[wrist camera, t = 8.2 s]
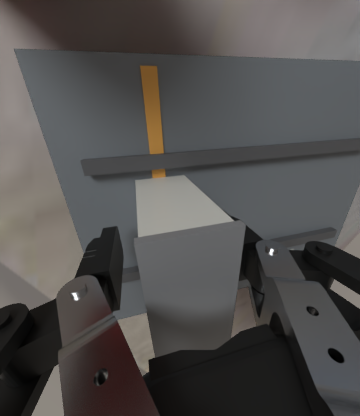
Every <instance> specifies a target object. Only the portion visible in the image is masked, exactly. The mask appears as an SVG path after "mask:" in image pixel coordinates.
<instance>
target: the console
mask: <svg viewBox="0 0 360 416" xmlns="http://www.w3.org/2000/svg"><path fill="white" fill-rule="evenodd" d="M14 51H15V54H16V57H17V60H18V63H19V66H20V69H21V72H22V74H23V77H24V80H25V83H26V86H27V89H28V92H29V95H30V98H31V101H32V104H33V107H34V109H35V112H36V115H37V118H38V121H39V124H40V127H41V130H42V133H43V136H44V139H45V141H46V144H47V147H48V150H49V153H50V156H51V159H52V162H53V165H54V168H55V171H56V174H57V176H58V179H59V182H60V185H61V188H62V191H63V194H64V197H65V200H66V203H67V206H68V208H69V211H70V214H71V217H72V220H73V223H74V226H75V229H76V232H77V235H78V238H79V240H80V243H81V246H82V249H83V252H84V253H85V250H86V247H87V245H88V244H89V243H90V242H91V241H92V240H93V239H94V238H99V237H100V236H101V233H102V229H103V228H106V227H113V226H117V227H118V230H119V234H120V239H121V243H122V248H123V255H124V260H123V275H122V289H121V304H120V310H118V311H114V312H113V316H115V317H116V319H117V320H119V319H123V318H127V317H131V316H135V315H139V314H143V313H147V311H146V305H145V300H144V295H143V289H142V284H141V279H140V273H139V268H138V263H137V257H136V252H135V247H134V238H137V237H138V224H137V205H136V185H135V180H142V179H151V178H161V177H170V176H180V175H184V176H186V177H187V178H188V179H189V180H190V181H191V182H192V183H193V184H194V185H195V186H197V187H198V188H199V189H200V190H201V191H202V192H203V193H204V194H205V195H206V196H208V197H209V198H210V199H211V200H212V201H213V202H214V203H215V204H216V205H217V206H219V207H220V208H221V209H222V210H224V211H225V212H226V213H228V214H229V215H230V216H233V217H235V218H238V219H240V220H241V221H242V222H243V223H245V224H246V225H247V226H248V227H249V228H250V229H252V230H253V231H254V232H255V233H256V234H257V235H259V236H260V237H261V238H262V239H263V240H273V241H276V242H279V243H281V244H283V245H284V246H285V247H286V248H287V249H288V250H304V247H305V244H306V243H307V242H309V241H319V242H324V243H327V244H330V245H332V246H335V244H336V241H337V239H338V236H339V234H340V231H341V229H342V226H343V224H344V221H345V219H346V216H347V214H348V212H349V209H350V207H351V204H352V202H353V199H354V197H355V194H356V192H357V189H358V187H359V184H360V61H342V60H314V59H287V58H259V57H231V56H203V55H176V54H148V53H120V52H92V51H65V50H37V49H14ZM245 287H249V281H248V280H247V279H246V280H242V281H239V280H238V288H237V289H241V288H245Z"/></svg>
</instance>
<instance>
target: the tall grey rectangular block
mask: <svg viewBox="0 0 360 416" xmlns="http://www.w3.org/2000/svg"><path fill="white" fill-rule="evenodd" d="M135 185H136V205H137V224H138V237H137V238H134V247H135V252H136V257H137V263H138V268H139V273H140V279H141V284H142V289H143V295H144V300H145V305H146V311H147V316H148V321H149V327H150V332H151V337H152V343H153V348H154V353H155V358H156V357H159V356H163V355H166V354H169V353H172V352H176V351H179V350H215V349H217V348H219V347H220V346H221V345H223V344H224V343H226V342H227V341H228V340H230V339H231V333H232V325H233V318H234V310H235V303H236V295H237V288H238V280H239V273H240V265H241V258H242V250H243V243H244V235H245V228H246V224H244V223H243V222H242V221H241V220H238V221H234V220H233V219H232V218H231V217H229V216H228V215H227V214H226V213H225V212H224V211H223V210H222V209H221V208H220V207H219V206H217V205H216V204H215V203H214V202H213V201H212V200H211V199H210V198H209V197H208V196H206V195H205V194H204V193H203V192H202V191H201V190H200V189H199V188H198V187H197V186H195V185H194V184H193V183H192V182H191V181H190V180H189V179H188V178H187V177H186V176H184V175H180V176H170V177H161V178H151V179H142V180H135Z"/></svg>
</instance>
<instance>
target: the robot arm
mask: <svg viewBox="0 0 360 416" xmlns="http://www.w3.org/2000/svg"><path fill="white" fill-rule="evenodd" d="M223 211H224V210H223ZM224 212H225V211H224ZM225 213H226V212H225ZM226 214H227V215H228V216H229V217H231V218H232V219H233V220H234V221H238V220H240V219H238V218H235V217H233V216H230V215H229V214H228V213H226ZM244 224H245V223H244ZM123 260H124V255H123V248H122V243H121V239H120V234H119V230H118V227H117V226H113V227H106V228H103V229H102V233H101V236H100V237H99V238H94V239H93V240H92V241H91V242H90V243H89V244H88V245H87V247H86V250H85V253H84V255H83V258H82V260H81V263H80V265H79V268H78V271H77V273H76V276H75V278H74V279H73V280H71V281H69V282H68V283H66V284H65V285H64V286H63V287H62V288H61V289H60V291H59V292H58V294H57V297H56V299H54V300H52V301H50V302H48V303H45V304H43V305H41V306H39V307H36V308H34V309H32V310H30V311H29V309H28V308H27V306H26V305H24V304H21V303H17V304H12V305H8V306H5V307H3V308H1V309H0V416H31V415H32V413H33V411H34V409H35V406H36V404H37V402H38V400H39V398H40V396H41V394H42V392H43V389H44V387H45V385H46V383H47V381H48V379H49V377H50V374H51V372H52V370H53V368H54V366H56V365H58V364H59V372H60V381H61V390H62V399H63V407H64V416H360V309H359V308H357V307H356V306H354V305H353V304H352V303H350V302H349V301H347V300H346V299H344V298H343V297H341V296H339V295H338V294H337V293H335V292H334V291H332V290H331V289H330V287H331V285H332V283H333V281H334V279H335V280H337V281H338V282H340V283H342V284H343V285H345V286H347V287H348V288H350V289H351V290H353V291H355V292H356V293H358V294H359V295H360V259H359V258H357V257H355V256H353V255H351V254H349V253H347V252H345V251H343V250H341V249H339V248H336V247H334V246H332V245H330V244H327V243H324V242H319V241H309V242H307V243H306V244H305V247H304V250H288V249H287V248H286V247H285V246H284V245H283V244H281V243H279V242H276V241H273V240H263V239H262V238H261V237H260V236H259V235H257V234H256V233H255V232H254V231H253V230H252V229H250V228H249V227H248V226H247V225H246V228H245V235H244V243H243V250H242V258H241V265H240V273H239V281H242V280H246V279H247V280H248V281H249V293H250V298H251V302H252V307H253V312H254V317H255V322H256V327H253V328H250V329H247V330H244V331H241V332H239V333H238V334H237V335H235V336H234V337H232V338H231V339H230V340H228V341H227V342H226V343H224V344H223V345H221V346H220V347H219V348H217V349H215V350H179V351H176V352H172V353H169V354H166V355H163V356H159V357H156V358H153V359H150V360H149V372H148V373H146V374H145V375H144V376H142V375H141V373H140V370H139V368H138V366H137V364H136V361H135V359H134V357H133V355H132V352H131V350H130V348H129V346H128V344H127V341H126V339H125V337H124V335H123V332H122V330H121V328H120V326H119V324H118V321H117V319H116V317H115V316H113V312H114V311H118V310H120V304H121V289H122V275H123Z"/></svg>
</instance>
